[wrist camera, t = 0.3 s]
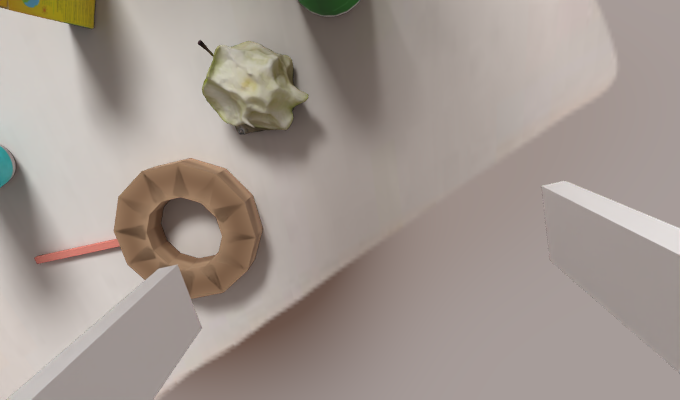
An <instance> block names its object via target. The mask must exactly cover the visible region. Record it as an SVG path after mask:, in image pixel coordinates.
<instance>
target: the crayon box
mask: <svg viewBox="0 0 680 400" xmlns="http://www.w3.org/2000/svg"><path fill="white" fill-rule="evenodd" d="M0 7H1V8H5V9H8V10H12V11H16V12H20V13H25V14H28V15H33V16H37V17H42V18H46V19H50V20H55V21H59V22H64V23H68V24H72V25H77V26H81V27H85V28H89V29H93V28H94V10H95V0H0Z"/></svg>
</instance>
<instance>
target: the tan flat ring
mask: <svg viewBox="0 0 680 400" xmlns="http://www.w3.org/2000/svg"><path fill="white" fill-rule="evenodd" d="M180 197H182V198H185V199H189V200H192V201H195V202H199V203H201V204H202V205H203V206H204V207H205V208H206V209H208V210H209V211H210V212H211V213H212V214H213V215H214V216H215V217H216V219H217V222H218V225H219V228H220V231H221V234H222V240H221V244H220V248H219V252H218V253H217V254H216V255H213V256H208V257H203V258H195V257H192V256H189V255H185V254H182V253H180V252H179V251H178V250H177V249H176V248H175V247H174V246H172V245H171V244H170V243H169V242H168V241H167V239H166V236H165V234H164V231H163V228H162V226H161V219H162V214H163V208H164V206H165V205H166V204H167V203H168V202H169V201H170V200H171V199H175V198H180ZM262 230H263V227H262V224H261V220H260V217H259V214H258V211H257V207H256V204H255V201H254V197H253V195H252V194H251V193H250V192H249V191H248V190H247V189H246V188H245V187H244V186H243V185H242V184H241V183H240V182H239V181H238V180H237V179H236V178H235V177H234V176H233V175H232V174H231V173H230V172H229V171H228V170H227V169H225V168H222V167H219V166H215V165H212V164H209V163H205V162H202V161H199V160H195V159H192V158H189V159H185V160H181V161H176V162H172V163H168V164H164V165H160V166H156V167H153V168H150V169H147V170H144V171H142V172H141V173H140V174H139V175H138V176H137V177H136V178H135V179H134V180H133V182H132V183H131V184H130V185H129V186H128V187H127V188H126V189H125V190H124V191H123V192H122V194H121V195H120V196H119V197H118V204H117V211H116V218H115V226H114V233H115V235H116V238H117V240H118V243H119V245H120V248H121V250H122V252H123V255H124V257H125V260H126V262H127V264H128V265H129V266H130V267H131V268H132V269H133V270H134V271H135V272H136V273H138V274H139V275H140V276H141V277H142V278H143V279H144V280H146V279H147V278H148V277H149V276H151V275H152V274H153V273H154V272H155V271H156V270H158V269H159V268H164V267H168V266H173V265H177V264H178V267H179V269H180V272H181V275H182V277H183V280H184V282H185V285H186V287H187V290H188V293H189V295H190V298H191V299H193V298H198V297H204V296H209V295H214V294H219V293H223V292H225V291H226V290H227V289H228V288H229V287H230V286H231V285H232V284H233V283H234V282H236V281H237V280H238V279H239V278H240V277H241V276H242V275H243V274H244V273H246V272H247V271H248V269H249V268H250V266H251V264H252V263H253V261H254V260H255V257H256V253H257V249H258V245H259V241H260V238H261V234H262Z"/></svg>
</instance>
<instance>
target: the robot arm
mask: <svg viewBox="0 0 680 400" xmlns="http://www.w3.org/2000/svg"><path fill="white" fill-rule="evenodd" d="M541 188H542V196H543V204H544V214H545V223H546V231H547V240H548V249H549V258H550V261H551V262H552V263H553V264H554V265H556V266H557V267H558V268H559V269H560V270H561V271H562V272H564V273H565V274H566V275H567V276H568V277H569V278H571V279H572V280H573V281H574V282H575V283H576V284H577V285H579V286H580V287H581V288H582V289H583V290H584V291H585V292H587V293H588V294H589V295H590V296H591V297H592V298H594V299H595V300H596V301H597V302H598V303H599V304H600V305H602V306H603V307H604V308H605V309H606V310H607V311H608V312H610V313H611V314H612V315H613V316H614V317H615V318H616V319H617V320H619V321H620V322H621V323H622V324H623V325H624V326H626V327H627V328H628V329H629V330H630V331H631V332H632V333H634V334H635V335H636V336H637V337H638V338H639V339H640V340H642V341H643V342H644V343H645V344H646V345H647V346H649V347H650V348H651V349H652V350H653V351H654V352H655V353H657V354H658V355H659V356H660V357H661V358H662V359H663V360H665V361H666V362H667V363H668V364H669V365H670V366H671V367H673V368H674V369H675V370H676V371H677V372H678V373H680V228H677V227H675V226H673V225H670V224H668V223H666V222H663V221H661V220H658V219H656V218H654V217H651V216H649V215H646V214H644V213H641V212H639V211H637V210H634V209H632V208H630V207H627V206H625V205H622V204H620V203H618V202H615V201H613V200H610V199H608V198H606V197H603V196H601V195H598V194H596V193H594V192H591V191H589V190H586V189H584V188H581V187H579V186H577V185H574V184H572V183H569V182H567V181H562V182H557V183H552V184H548V185H543V186H541ZM201 329H202V326H201V324H200V321H199V318H198V316H197V313H196V311H195V308H194V306H193V303H192V300H191V298H190V295H189V293H188V290H187V287H186V285H185V282H184V280H183V277H182V275H181V272H180V269H179V267H178V264H177V265H173V266H168V267H164V268H159V269H158V270H156V271H155V272H154V273H153V274H152V275H151V276H149V277H148V278H147V279H146V280H145V281H144V282H142V283H141V284H140V285H139V286H138V287H137V288H135V289H134V290H133V291H132V292H131V293H130V294H128V295H127V296H126V297H125V298H124V299H123V300H121V301H120V302H119V303H118V304H117V305H116V306H114V307H113V308H112V309H111V310H110V311H109V312H107V313H106V314H105V315H104V316H103V317H102V318H100V319H99V320H98V321H97V322H96V323H95V324H93V325H92V326H91V327H90V328H89V329H88V330H86V331H85V332H84V333H83V334H82V335H81V336H79V337H78V338H77V339H76V340H75V341H74V342H72V343H71V344H70V345H69V346H68V347H67V348H65V349H64V350H63V351H62V352H61V353H60V354H58V355H57V356H56V357H55V358H54V359H53V360H51V361H50V362H49V363H48V364H47V365H46V366H44V367H43V368H42V369H41V370H40V371H39V372H37V373H36V374H35V375H34V376H33V377H32V378H30V379H29V380H28V381H27V382H26V383H25V384H23V385H22V386H21V387H20V388H19V389H18V390H16V391H15V392H14V393H13V394H12V395H11V396H9V397H8V398H7V399H6V400H153V399H154V398H155V396H156V395H157V393H158V392H159V390H160V389H161V387H162V386H163V385H164V383H165V382H166V380H167V379H168V377H169V376H170V374H171V373H172V371H173V370H174V368H175V367H176V365H177V364H178V363H179V361H180V360H181V358H182V357H183V355H184V354H185V352H186V351H187V349H188V348H189V346H190V345H191V343H192V342H193V341H194V339H195V338H196V336H197V335H198V333H199V332H200V330H201Z"/></svg>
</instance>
